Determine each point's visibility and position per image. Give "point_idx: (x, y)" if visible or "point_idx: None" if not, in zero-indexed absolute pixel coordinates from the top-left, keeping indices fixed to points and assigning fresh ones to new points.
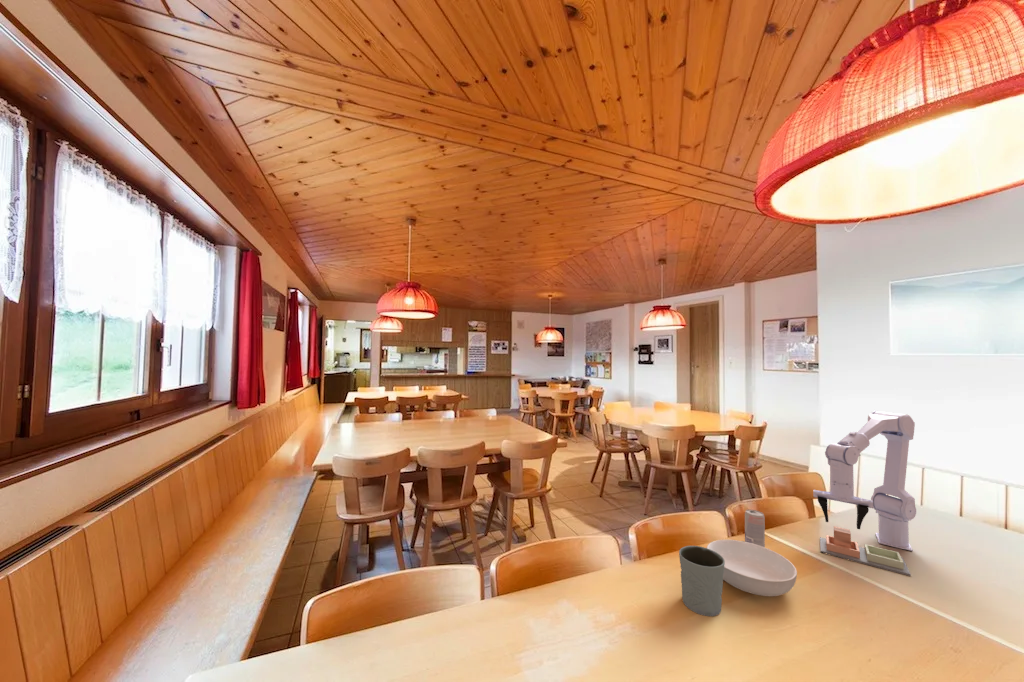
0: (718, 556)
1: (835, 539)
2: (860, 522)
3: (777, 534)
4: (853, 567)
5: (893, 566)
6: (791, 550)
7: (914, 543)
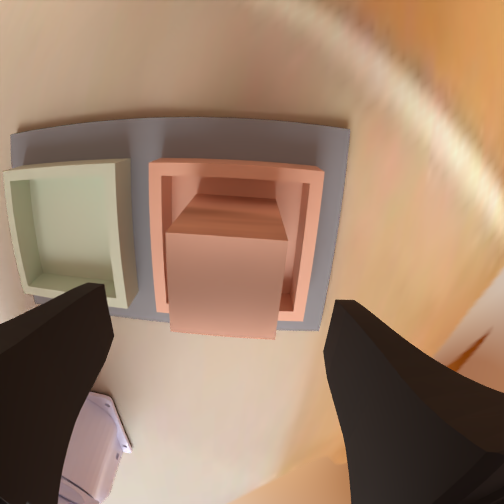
0: None
1: (273, 216)
2: (43, 307)
3: (482, 252)
4: (207, 32)
5: (45, 162)
6: (461, 81)
7: None
